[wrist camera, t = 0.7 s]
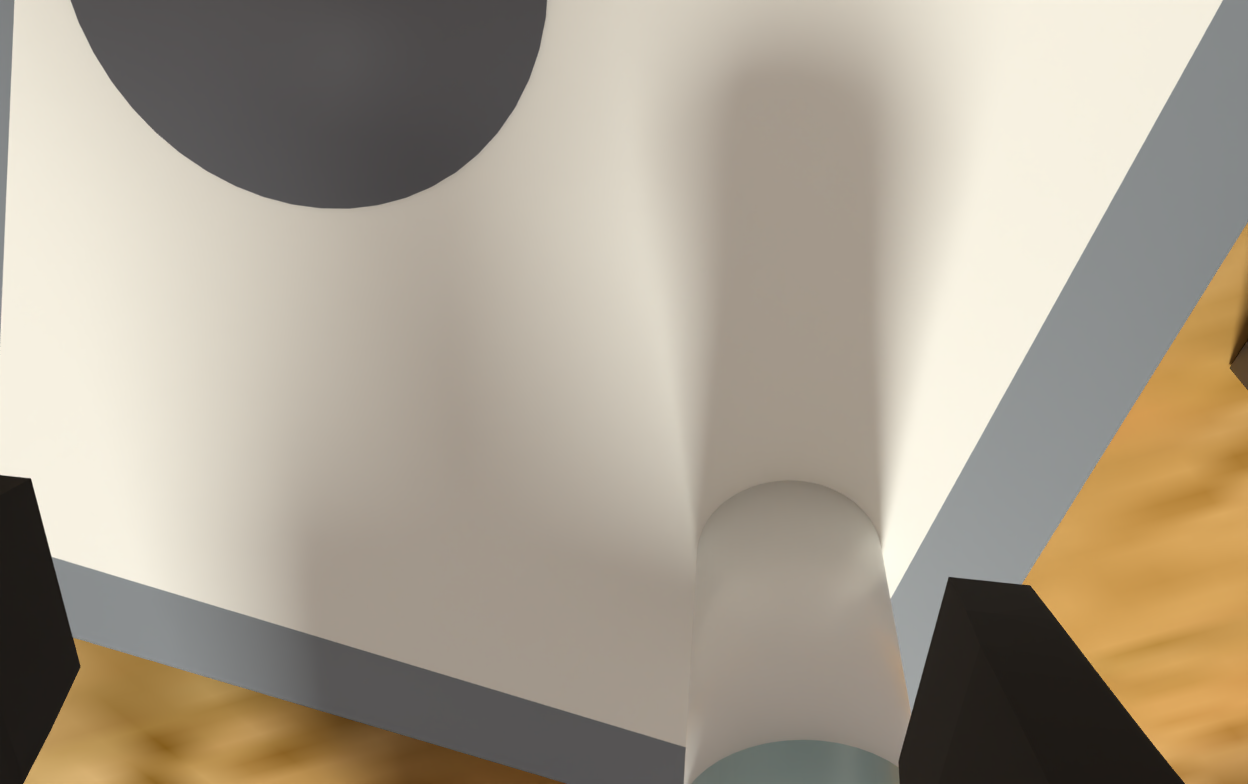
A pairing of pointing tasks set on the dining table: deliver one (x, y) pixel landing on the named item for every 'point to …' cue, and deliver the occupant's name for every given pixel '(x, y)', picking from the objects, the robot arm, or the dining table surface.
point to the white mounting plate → (574, 320)
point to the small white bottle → (793, 645)
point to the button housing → (1241, 366)
